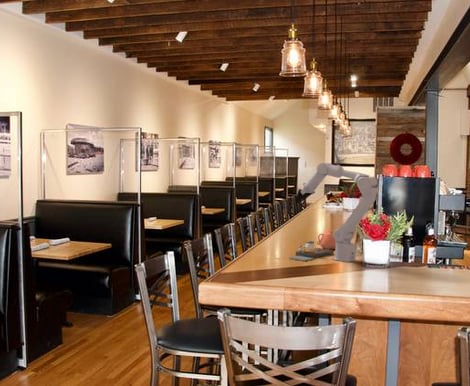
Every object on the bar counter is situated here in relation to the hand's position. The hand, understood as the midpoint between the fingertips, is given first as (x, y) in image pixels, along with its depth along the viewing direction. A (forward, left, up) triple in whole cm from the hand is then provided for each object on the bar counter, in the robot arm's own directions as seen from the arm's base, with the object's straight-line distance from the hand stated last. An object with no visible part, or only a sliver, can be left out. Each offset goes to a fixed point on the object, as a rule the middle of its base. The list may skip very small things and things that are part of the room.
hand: (299, 200), depth 261 cm
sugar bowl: (-3, -25, -28) cm, 38 cm away
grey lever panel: (-10, -1, -28) cm, 29 cm away
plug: (-10, +4, -28) cm, 30 cm away
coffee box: (-25, -30, -28) cm, 48 cm away
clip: (-7, +4, -25) cm, 27 cm away
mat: (-13, +15, -28) cm, 34 cm away
